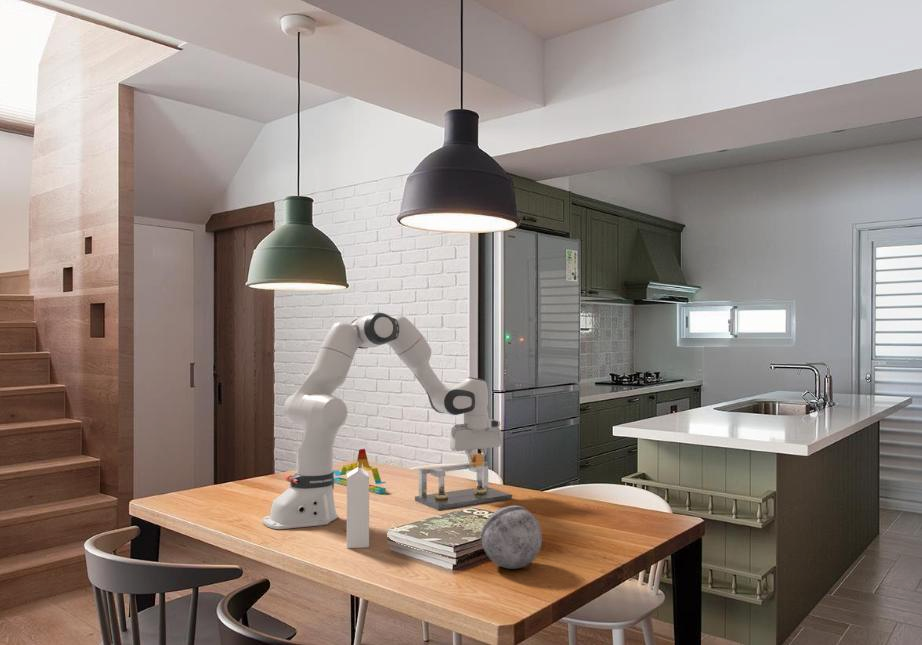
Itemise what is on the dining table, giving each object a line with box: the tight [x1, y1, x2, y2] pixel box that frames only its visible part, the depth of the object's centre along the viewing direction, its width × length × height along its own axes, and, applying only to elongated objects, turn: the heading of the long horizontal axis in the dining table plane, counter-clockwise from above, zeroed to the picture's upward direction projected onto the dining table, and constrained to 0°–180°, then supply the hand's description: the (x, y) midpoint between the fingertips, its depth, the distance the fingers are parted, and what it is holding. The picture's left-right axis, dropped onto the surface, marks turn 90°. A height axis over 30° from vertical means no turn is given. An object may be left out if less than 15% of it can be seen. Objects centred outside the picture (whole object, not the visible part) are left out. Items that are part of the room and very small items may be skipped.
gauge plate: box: [414, 460, 513, 511], centre depth 241 cm, size 30×16×11 cm, turn 123°
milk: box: [346, 467, 370, 549], centre depth 188 cm, size 6×6×22 cm
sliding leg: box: [468, 452, 484, 488], centre depth 246 cm, size 3×6×12 cm, turn 32°
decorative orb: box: [480, 505, 543, 570], centre depth 169 cm, size 15×14×15 cm
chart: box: [332, 448, 387, 495], centre depth 262 cm, size 30×3×15 cm, turn 45°
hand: (476, 461), depth 247 cm, fingers closed on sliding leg, 3 cm apart
